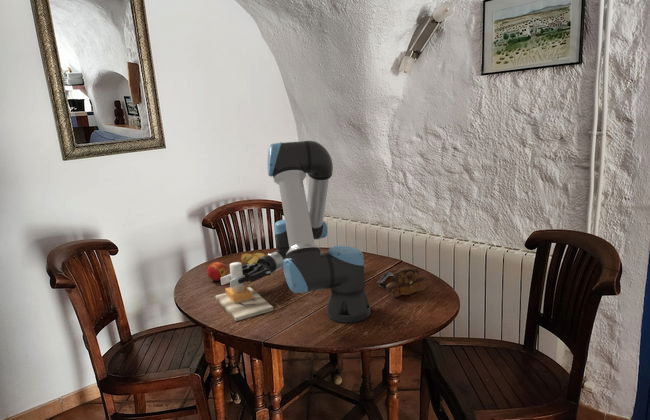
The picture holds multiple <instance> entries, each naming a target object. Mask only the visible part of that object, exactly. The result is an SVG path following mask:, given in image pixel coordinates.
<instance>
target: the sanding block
mask: <svg viewBox="0 0 650 420" xmlns="http://www.w3.org/2000/svg"><path fill="white" fill-rule="evenodd" d="M242 265H243V263H242V262H241V261H236V262H231V263H229V274H231V280H232V279H234V278H237V277H239V276H241V275H243V272H242ZM244 283H245V282H244ZM244 283H241V284H239V285H237V286H235V287H233V288H230V286H229V287H226V288H224V289H225V293H226V295H227V296H228V297H229V298H230V299H231V300H232V301H233V302H234V303H238V302H242V301H245V300H249V299H252V292H251V291H250V290H249V289H247V286H246V285H244Z"/></svg>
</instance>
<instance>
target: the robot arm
mask: <svg viewBox="0 0 650 420" xmlns="http://www.w3.org/2000/svg"><path fill="white" fill-rule="evenodd" d="M333 165H334V164H333V160H332V157H331V155H330V153H329V151H328V150H327V149H326V148H325V147H324V146H323V145H322V144H321V143H319V142H317V141H314V140H302V141H287V142H286V141H285V142H280V141H279V142H276V143H271V144H270V145H269V147H268V151H267V175H268V177H271V178H272V177H273V182H274V183H275V184H276V185H278V186H279V194H280V199H281V205H282V210H283V217H284V219H280V220H277V221H276V222H275V224H274V235H275V236H274V237H275V248H276V250H275V251H273V252H271V253H268V254H265V255H266V256H263V257H261V258H259V259H258V261H257V263H254V264H252V265H249V263H246V264H242V272H243V275H241V276H239V277H237V278H234V279H232V280H231V273H229V274H227V275H226V276H224V277H221V278H220V280H221V281H220V285H222V286H224V285H227V284H229V287H230V288H233V287H235V286H237V285H239V284H241V283H245V282H247V283H248V282H250V283H254V282H256V281H258V280H260V279H262V278H265V277H268V276H271V275H272V274H273V273H274V272H277V271H279V270H281V269H283V274H284V277H285V281H286V284H287V286H288V288H289V290H290V291H291V292H292V293H294V294H300V293H302V294H303V293H305V294H307V293H308V292H314V291H321V290H328V289H330V294H329V297H328V301H327V303H326V316H327V317H328V318H329V319H330V320H332V321H334V322H338V323H345V324H346V323H347V324H350V323H357V322H358V323H359V322H361V321H363V320H366V319H367V318H369V316H370V315H371V305H370V302H369V300H368V296H367V294H366V291H365V290H366V289H365V261H364V259H365V258H364V254H363V252H362V251H361V250H360V249H359V248H356V247H354V246H353V247H352V246H347V245H334V246H331V247H329V248H328V251H327V253H322V251H321V247H319V246H318V245H317V244H315V240H320V239H325V238H326V237H327V236H328V225H327V222H326V221H325V220H324V217H325V209H326V202H327V195H328V188H329V182H330V181H329V180H330V179H331V178H332V177H333V171H334V166H333ZM307 176H308V186H307V196H306V191H305V187H304V180H305V179H306V177H307Z"/></svg>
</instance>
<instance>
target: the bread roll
mask: <svg viewBox="0 0 650 420" xmlns="http://www.w3.org/2000/svg"><path fill="white" fill-rule="evenodd" d="M266 255H267V254H265V253H263V252H256V253H253V254H252V253H251V254H250V253H246V252H245V253H242V254H241V258H240V259H241V263H242V265H244V264H246V263H249V265H252V264H254V263H257V261H258V259H259V258H261V257H263V256H266Z"/></svg>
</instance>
